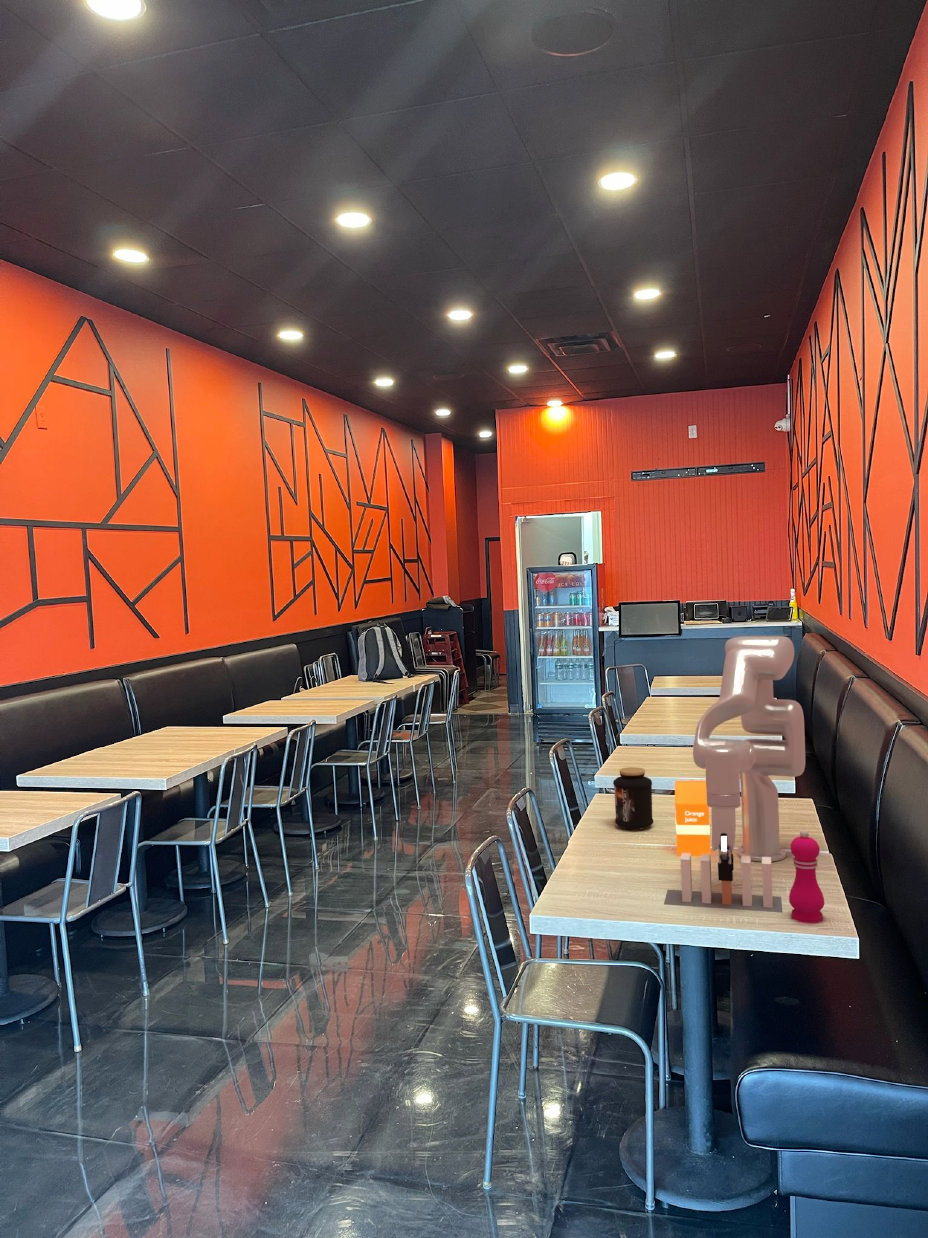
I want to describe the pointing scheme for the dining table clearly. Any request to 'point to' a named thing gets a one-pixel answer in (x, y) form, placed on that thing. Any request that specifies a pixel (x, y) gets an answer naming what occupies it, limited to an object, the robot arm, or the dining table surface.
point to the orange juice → (692, 818)
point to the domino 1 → (686, 877)
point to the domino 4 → (746, 880)
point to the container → (633, 799)
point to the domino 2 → (706, 878)
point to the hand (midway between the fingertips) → (726, 874)
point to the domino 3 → (726, 892)
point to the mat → (737, 901)
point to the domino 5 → (767, 882)
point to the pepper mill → (806, 880)
